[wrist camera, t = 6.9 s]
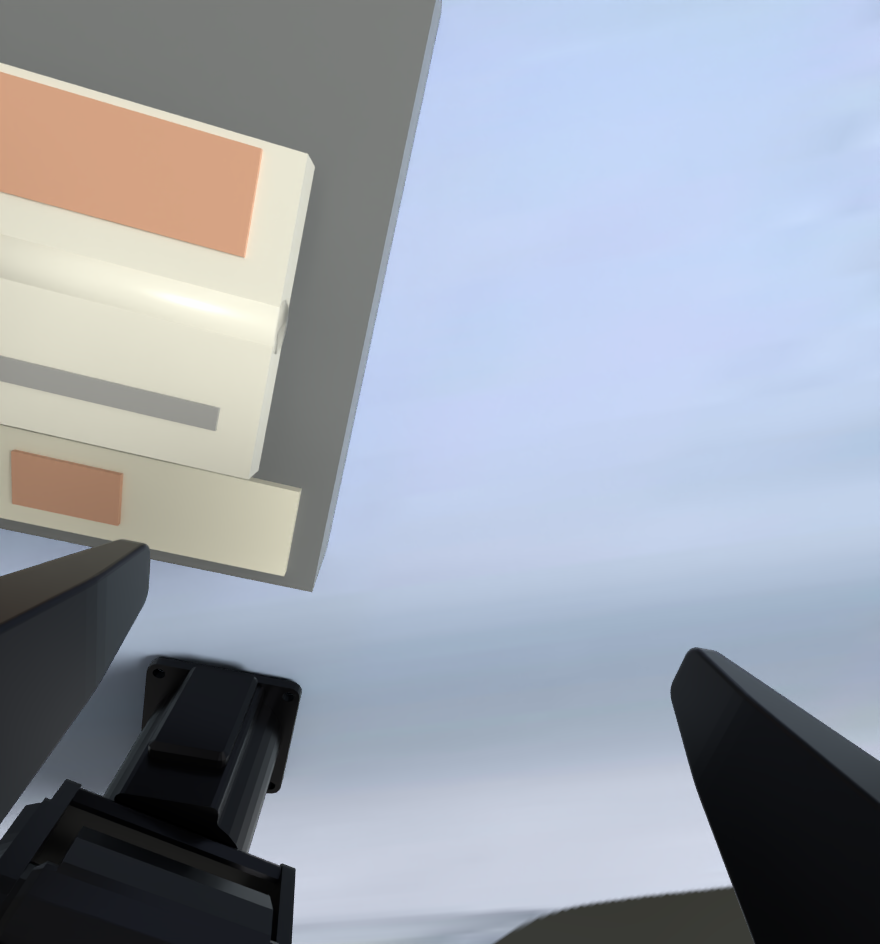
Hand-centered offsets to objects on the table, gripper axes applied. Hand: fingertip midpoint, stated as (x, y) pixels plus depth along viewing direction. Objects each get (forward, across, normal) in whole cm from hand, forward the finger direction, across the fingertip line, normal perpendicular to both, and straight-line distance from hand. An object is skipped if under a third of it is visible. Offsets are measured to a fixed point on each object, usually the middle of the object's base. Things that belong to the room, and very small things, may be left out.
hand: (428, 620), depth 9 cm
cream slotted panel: (+7, +10, -3) cm, 13 cm away
